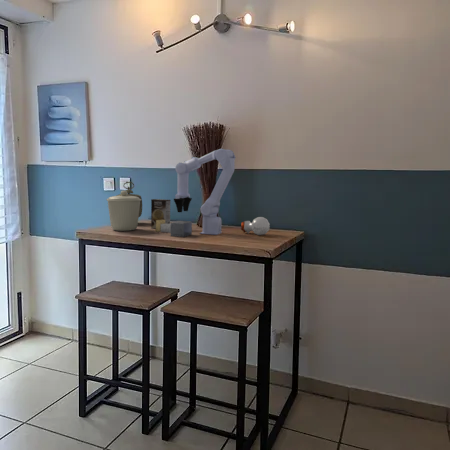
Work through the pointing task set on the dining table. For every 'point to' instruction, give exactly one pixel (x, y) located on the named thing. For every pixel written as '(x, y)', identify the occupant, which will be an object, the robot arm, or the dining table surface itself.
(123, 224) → the canister
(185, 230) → the housing
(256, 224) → the potion bottle
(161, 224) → the lever
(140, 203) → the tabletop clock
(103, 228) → the dining table surface
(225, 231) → the dining table surface
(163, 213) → the coffee box
